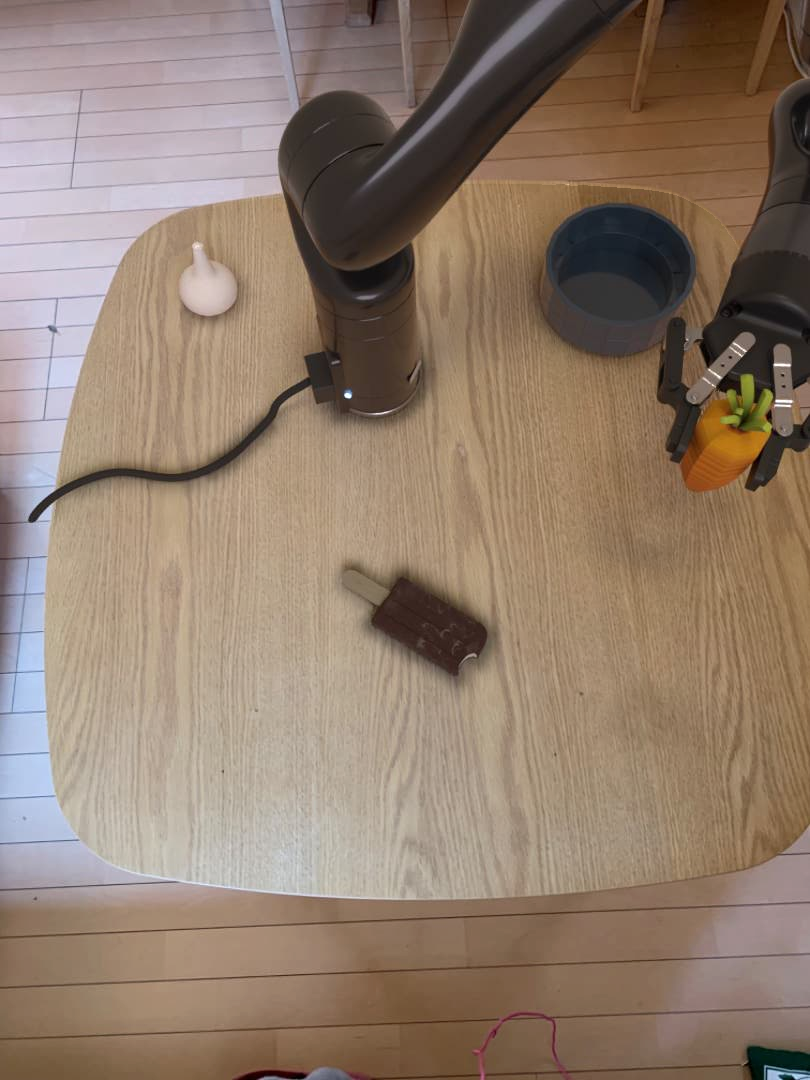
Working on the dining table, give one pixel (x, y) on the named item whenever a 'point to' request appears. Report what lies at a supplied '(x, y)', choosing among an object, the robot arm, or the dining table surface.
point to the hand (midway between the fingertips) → (715, 471)
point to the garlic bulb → (207, 285)
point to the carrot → (727, 438)
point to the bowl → (616, 278)
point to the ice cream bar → (421, 621)
